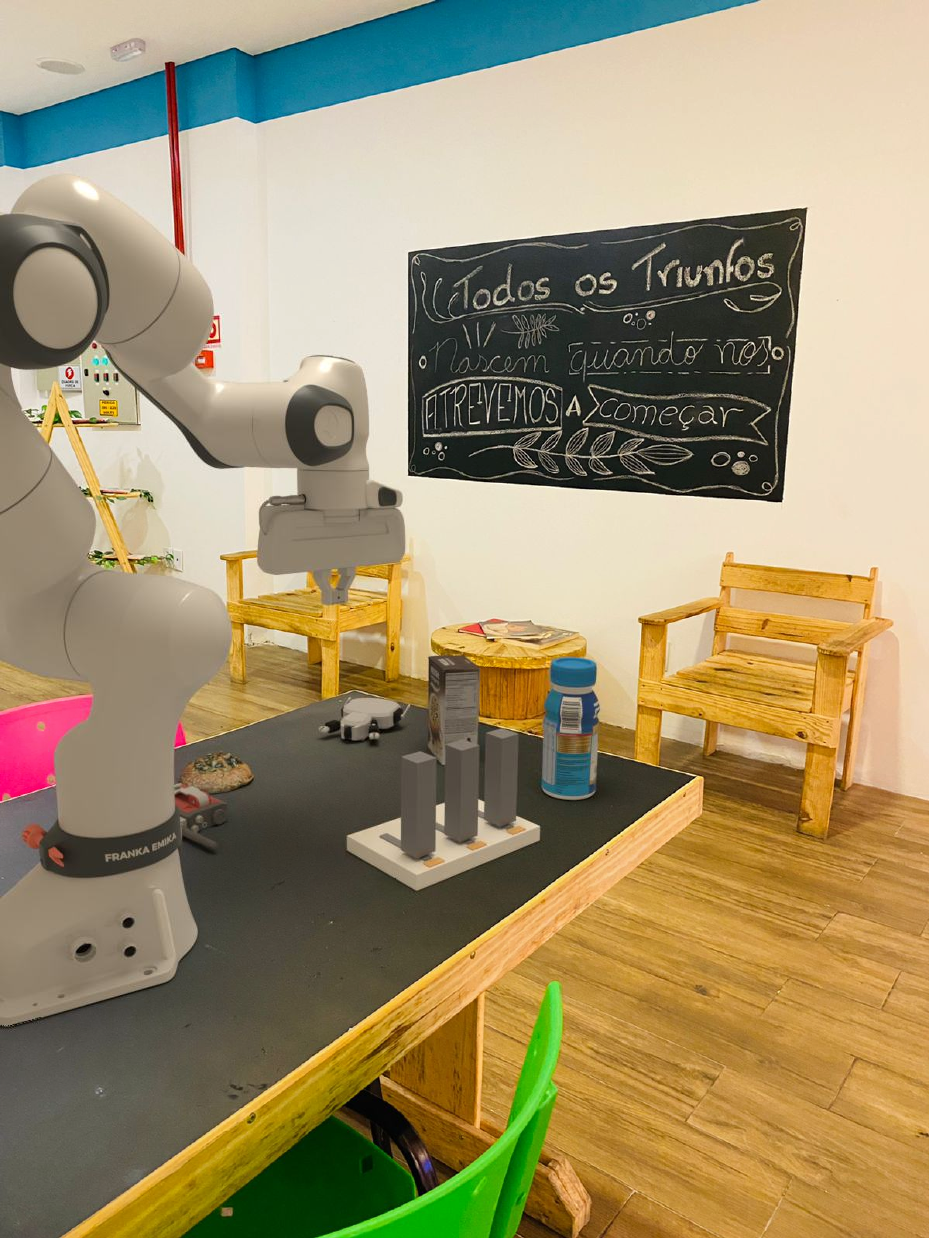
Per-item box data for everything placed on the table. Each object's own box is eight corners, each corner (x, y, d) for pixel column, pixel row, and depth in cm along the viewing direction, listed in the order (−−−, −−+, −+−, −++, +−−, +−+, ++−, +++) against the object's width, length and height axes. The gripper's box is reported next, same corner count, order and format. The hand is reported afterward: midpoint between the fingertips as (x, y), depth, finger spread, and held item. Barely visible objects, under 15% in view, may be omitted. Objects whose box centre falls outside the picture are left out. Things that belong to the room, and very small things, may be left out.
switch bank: (416, 890, 108) (416, 873, 107) (346, 850, 118) (346, 834, 117) (539, 840, 121) (540, 824, 121) (467, 807, 132) (468, 793, 131)
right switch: (499, 826, 119) (502, 738, 117) (483, 819, 122) (485, 732, 119) (516, 820, 121) (518, 733, 119) (500, 813, 124) (502, 728, 121)
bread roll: (203, 764, 147) (205, 735, 145) (265, 781, 144) (268, 752, 143) (162, 792, 137) (163, 761, 135) (228, 811, 134) (230, 780, 132)
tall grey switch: (416, 858, 110) (417, 763, 108) (400, 850, 112) (401, 756, 110) (435, 851, 112) (436, 757, 110) (419, 843, 114) (420, 751, 112)
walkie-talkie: (123, 815, 128) (208, 859, 115) (121, 785, 127) (207, 826, 114) (179, 797, 134) (265, 837, 122) (177, 769, 134) (264, 806, 121)
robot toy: (379, 754, 156) (412, 722, 169) (378, 729, 155) (411, 699, 168) (314, 745, 160) (351, 715, 173) (313, 721, 158) (350, 692, 172)
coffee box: (426, 747, 156) (427, 655, 153) (462, 744, 158) (464, 653, 155) (441, 766, 148) (442, 668, 145) (479, 762, 150) (481, 666, 147)
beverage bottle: (528, 789, 139) (532, 660, 135) (566, 776, 144) (571, 652, 140) (570, 806, 133) (576, 672, 129) (608, 792, 138) (614, 663, 134)
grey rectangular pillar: (460, 842, 115) (461, 750, 112) (444, 834, 117) (445, 744, 115) (477, 835, 117) (479, 745, 114) (461, 827, 119) (463, 739, 117)
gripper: (273, 498, 104) (276, 617, 107) (412, 492, 118) (412, 598, 121) (245, 494, 109) (248, 609, 112) (382, 490, 123) (383, 592, 125)
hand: (334, 603), depth 116 cm, fingers closed
